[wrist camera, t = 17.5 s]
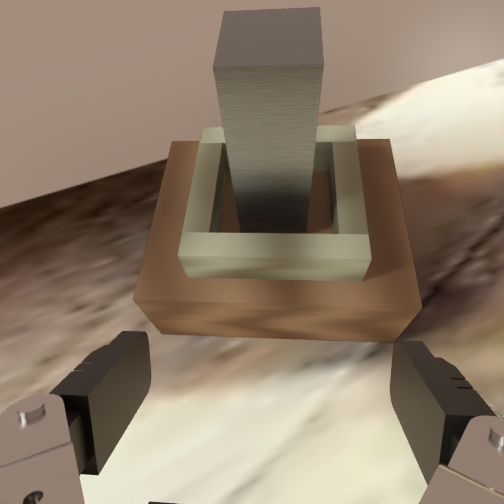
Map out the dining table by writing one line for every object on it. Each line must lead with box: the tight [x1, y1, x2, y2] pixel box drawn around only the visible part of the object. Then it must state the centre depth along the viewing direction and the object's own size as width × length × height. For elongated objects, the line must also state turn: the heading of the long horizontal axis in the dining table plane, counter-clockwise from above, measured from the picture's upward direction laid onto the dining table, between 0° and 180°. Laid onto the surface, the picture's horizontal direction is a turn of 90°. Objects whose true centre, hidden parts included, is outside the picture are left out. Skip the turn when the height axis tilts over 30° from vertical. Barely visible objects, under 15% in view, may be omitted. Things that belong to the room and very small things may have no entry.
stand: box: [133, 125, 422, 343], centre depth 25 cm, size 16×13×8 cm
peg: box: [213, 7, 324, 234], centre depth 19 cm, size 4×4×11 cm
